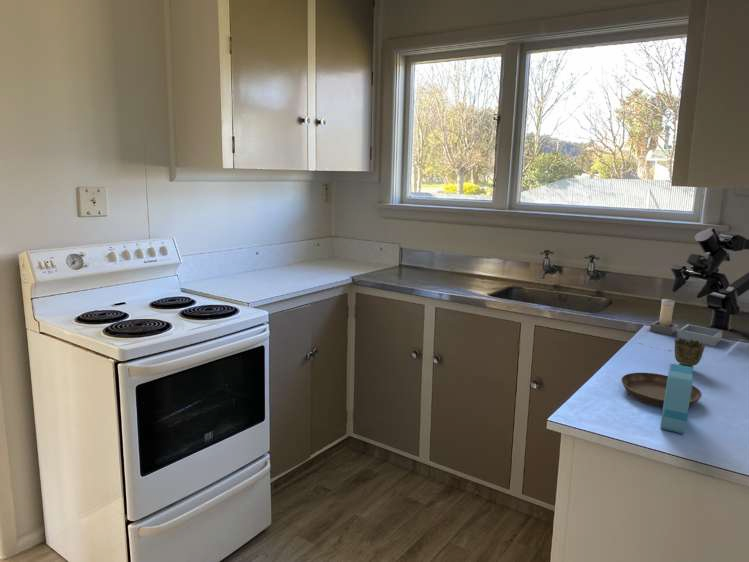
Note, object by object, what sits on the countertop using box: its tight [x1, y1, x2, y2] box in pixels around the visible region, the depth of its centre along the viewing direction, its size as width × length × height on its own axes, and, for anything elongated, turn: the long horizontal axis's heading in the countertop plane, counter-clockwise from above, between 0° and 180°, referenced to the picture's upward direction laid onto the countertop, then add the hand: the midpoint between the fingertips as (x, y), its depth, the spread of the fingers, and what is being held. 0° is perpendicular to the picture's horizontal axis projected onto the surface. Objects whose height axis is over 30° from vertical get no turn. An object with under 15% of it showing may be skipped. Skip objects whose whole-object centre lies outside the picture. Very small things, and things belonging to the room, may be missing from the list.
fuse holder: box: [645, 320, 679, 338], centre depth 193 cm, size 9×9×4 cm
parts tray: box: [677, 323, 724, 347], centre depth 186 cm, size 10×10×4 cm
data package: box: [660, 363, 694, 435], centre depth 123 cm, size 12×4×12 cm, turn 151°
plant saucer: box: [620, 372, 703, 408], centre depth 139 cm, size 18×18×3 cm
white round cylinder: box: [658, 298, 676, 327], centre depth 192 cm, size 4×4×11 cm
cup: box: [674, 338, 706, 369], centre depth 159 cm, size 8×7×8 cm
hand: (685, 294), depth 194 cm, fingers open, 9 cm apart
